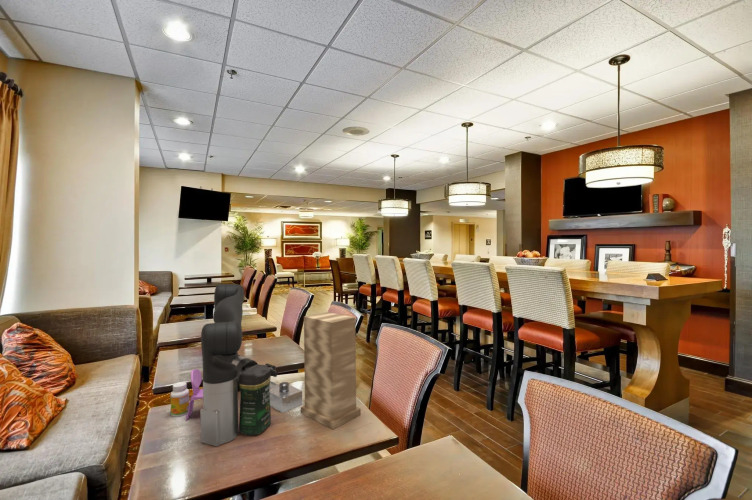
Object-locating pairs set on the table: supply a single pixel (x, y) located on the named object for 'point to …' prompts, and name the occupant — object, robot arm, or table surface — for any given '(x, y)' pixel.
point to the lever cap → (284, 396)
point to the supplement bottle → (179, 399)
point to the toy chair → (195, 389)
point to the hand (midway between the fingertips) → (266, 377)
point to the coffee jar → (254, 400)
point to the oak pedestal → (330, 369)
